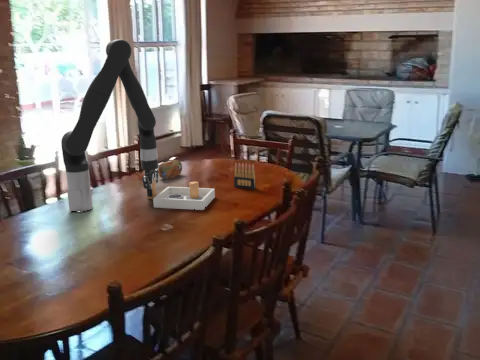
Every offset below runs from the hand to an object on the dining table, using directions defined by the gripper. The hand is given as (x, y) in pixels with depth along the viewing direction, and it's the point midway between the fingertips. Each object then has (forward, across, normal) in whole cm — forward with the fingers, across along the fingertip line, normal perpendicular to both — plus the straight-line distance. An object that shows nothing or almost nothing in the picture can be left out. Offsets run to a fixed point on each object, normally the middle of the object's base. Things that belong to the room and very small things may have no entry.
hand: (151, 194), depth 245 cm
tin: (+2, -35, -4) cm, 35 cm away
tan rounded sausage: (+1, 0, 0) cm, 1 cm away
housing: (+1, +4, +17) cm, 18 cm away
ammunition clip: (+2, -22, +38) cm, 44 cm away
